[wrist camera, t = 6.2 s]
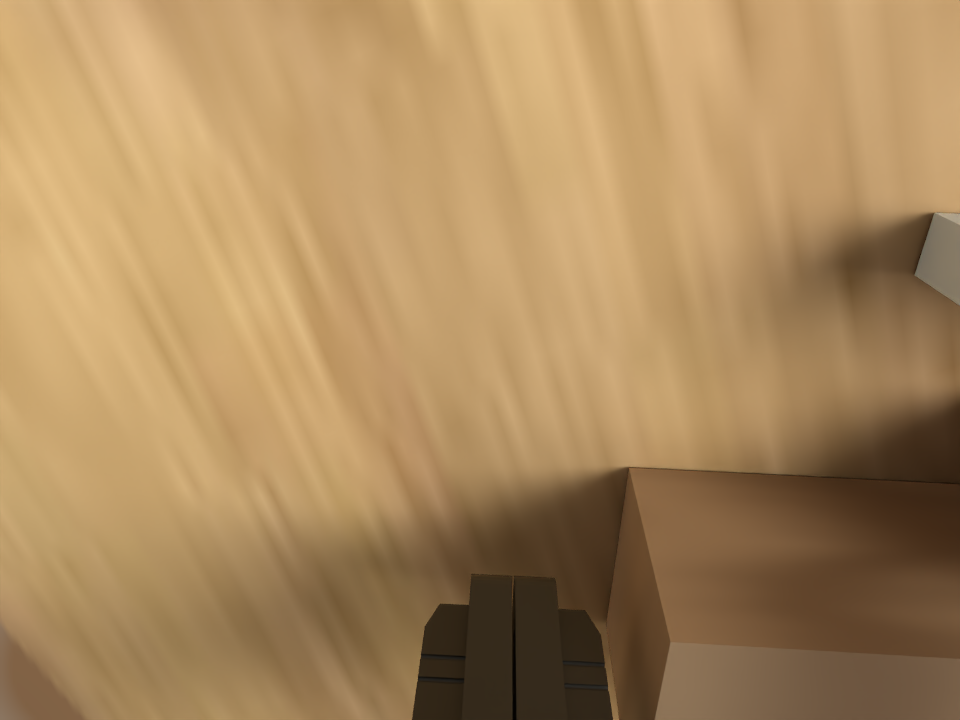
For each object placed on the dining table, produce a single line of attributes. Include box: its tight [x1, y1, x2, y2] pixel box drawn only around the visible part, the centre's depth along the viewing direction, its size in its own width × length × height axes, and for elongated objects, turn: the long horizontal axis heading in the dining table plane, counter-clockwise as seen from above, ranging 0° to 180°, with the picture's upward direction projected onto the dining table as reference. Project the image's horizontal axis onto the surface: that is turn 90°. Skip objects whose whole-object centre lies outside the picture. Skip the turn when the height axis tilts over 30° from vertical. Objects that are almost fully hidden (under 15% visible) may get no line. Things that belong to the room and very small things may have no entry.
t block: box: [606, 468, 960, 720], centre depth 12 cm, size 10×8×4 cm
